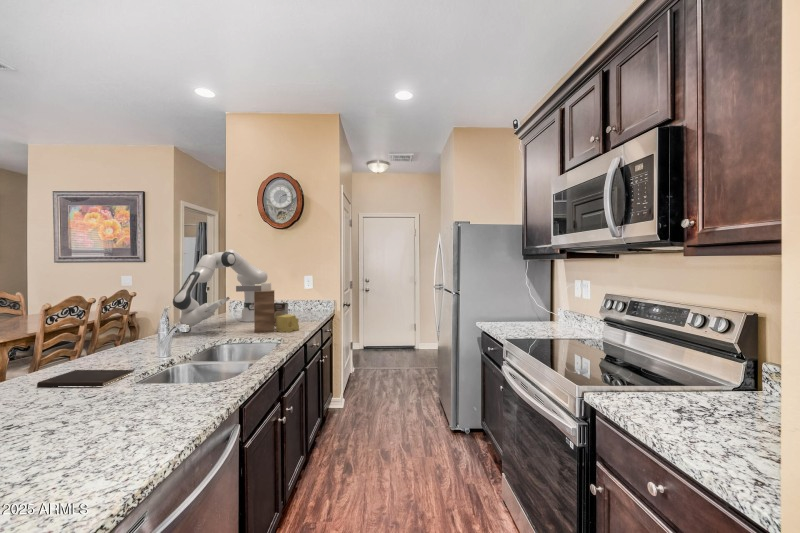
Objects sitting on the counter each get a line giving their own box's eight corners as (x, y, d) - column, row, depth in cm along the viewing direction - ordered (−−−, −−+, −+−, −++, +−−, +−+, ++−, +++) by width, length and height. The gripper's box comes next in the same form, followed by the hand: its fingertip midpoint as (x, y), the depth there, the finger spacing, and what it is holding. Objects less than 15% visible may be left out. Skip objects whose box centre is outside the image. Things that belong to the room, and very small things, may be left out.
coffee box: (272, 326, 263) (272, 303, 263) (276, 324, 270) (275, 302, 270) (284, 326, 263) (284, 303, 262) (288, 325, 269) (288, 302, 269)
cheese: (299, 330, 249) (299, 314, 249) (287, 332, 240) (287, 317, 239) (286, 328, 254) (286, 314, 254) (275, 331, 244) (275, 316, 244)
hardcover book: (75, 375, 149) (75, 369, 149) (134, 375, 149) (134, 369, 149) (36, 389, 133) (36, 382, 133) (102, 389, 133) (102, 382, 133)
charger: (236, 291, 243) (236, 283, 243) (271, 290, 250) (271, 282, 250) (235, 291, 238) (235, 283, 238) (271, 291, 244) (271, 283, 244)
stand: (254, 329, 250) (254, 290, 249) (274, 328, 254) (274, 290, 253) (253, 332, 238) (253, 291, 238) (274, 331, 242) (274, 291, 242)
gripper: (201, 307, 225) (223, 295, 229) (207, 304, 244) (227, 293, 248) (207, 316, 226) (229, 304, 230) (212, 312, 245) (232, 301, 249)
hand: (228, 298), depth 239 cm, fingers open, 8 cm apart
